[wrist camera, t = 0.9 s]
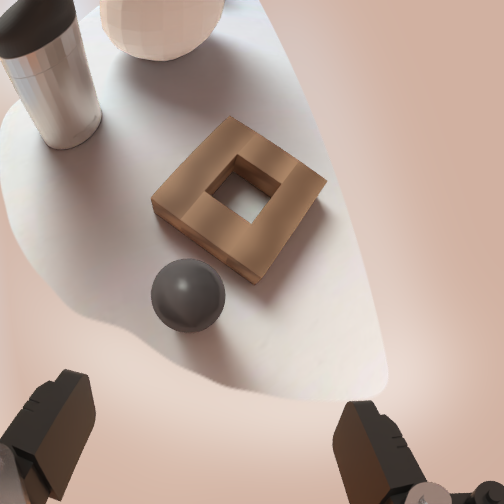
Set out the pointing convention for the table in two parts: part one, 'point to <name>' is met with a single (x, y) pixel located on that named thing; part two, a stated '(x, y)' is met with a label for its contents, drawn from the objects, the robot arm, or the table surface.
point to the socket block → (224, 219)
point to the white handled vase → (159, 25)
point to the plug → (188, 295)
